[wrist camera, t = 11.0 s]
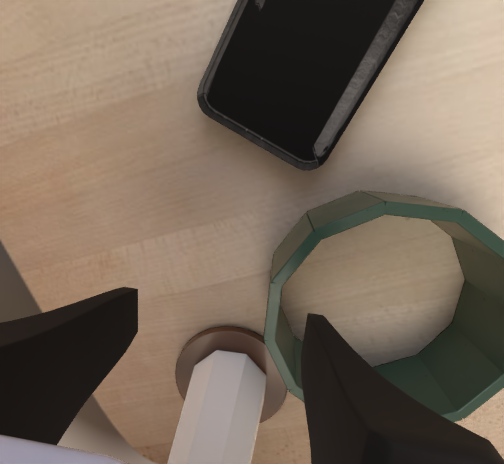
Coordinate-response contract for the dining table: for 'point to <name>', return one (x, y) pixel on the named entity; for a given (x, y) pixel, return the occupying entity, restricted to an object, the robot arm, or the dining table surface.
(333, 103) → the phone
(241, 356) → the salt shaker
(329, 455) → the robot arm
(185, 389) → the coaster
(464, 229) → the green polygonal ring
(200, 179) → the dining table surface
